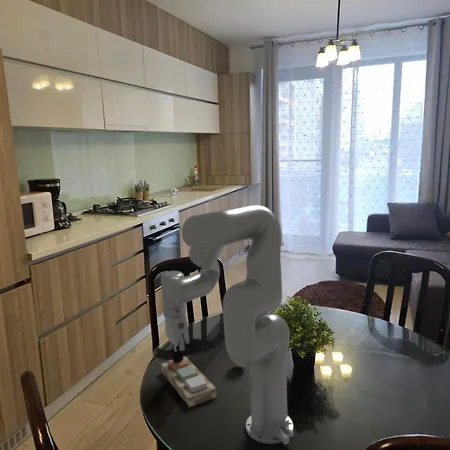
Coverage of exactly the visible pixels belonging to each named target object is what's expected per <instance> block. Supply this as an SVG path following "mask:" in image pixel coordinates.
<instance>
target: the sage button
mask: <svg viewBox="0 0 450 450" xmlns="http://www.w3.org/2000/svg"><path fill="white" fill-rule="evenodd" d="M177 376H178V378H179V379H180V380H181V381H182V382H185V380H187V379H190V378H193V377H196V376H197V372H196V370H195V369H194V368H193V367H192V366H187V367H184V368H181V369H178V370H177Z"/></svg>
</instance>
